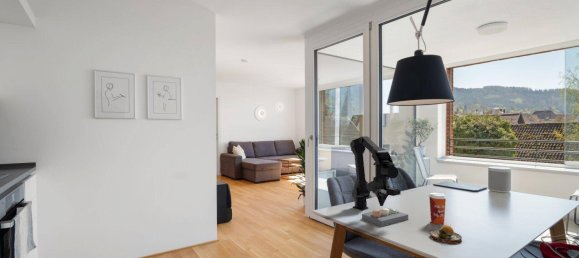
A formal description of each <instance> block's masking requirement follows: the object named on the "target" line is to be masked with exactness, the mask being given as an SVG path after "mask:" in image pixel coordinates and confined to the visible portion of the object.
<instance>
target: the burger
mask: <svg viewBox="0 0 579 258" xmlns="http://www.w3.org/2000/svg"><path fill="white" fill-rule="evenodd" d="M441 227H442V228H440V229H433V230H431V231H430V232H429V235H430V236H431V239H432V238H433V239H432V240H434V241H436V239H437V241H438V242H439V243H442V244H445V243H446V244H447V243H449V244H450V245H455V244H456V245H457V243H458V244H461V243H462V242H463V240H462V237H463V236H462V235H461V234H459V233H456V232H455V231H454V229H453V227H452V226H451V225H448V224H443V225H442V226H441Z"/></svg>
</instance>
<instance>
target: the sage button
mask: <svg viewBox="0 0 579 258" xmlns="http://www.w3.org/2000/svg"><path fill="white" fill-rule="evenodd" d="M397 211H398V209H397V208H389V213H391V214H397Z"/></svg>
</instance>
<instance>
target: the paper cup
mask: <svg viewBox="0 0 579 258" xmlns="http://www.w3.org/2000/svg"><path fill="white" fill-rule="evenodd" d="M428 197H429V211H430V212H429V213H430V222H431V224H434V225H438V226H441V225H442V226H444V225H445V216H446V214H445V213H446V201H447V195H446V194H445V193H442V192H441V193H440V192H430V193H429V195H428Z"/></svg>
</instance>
